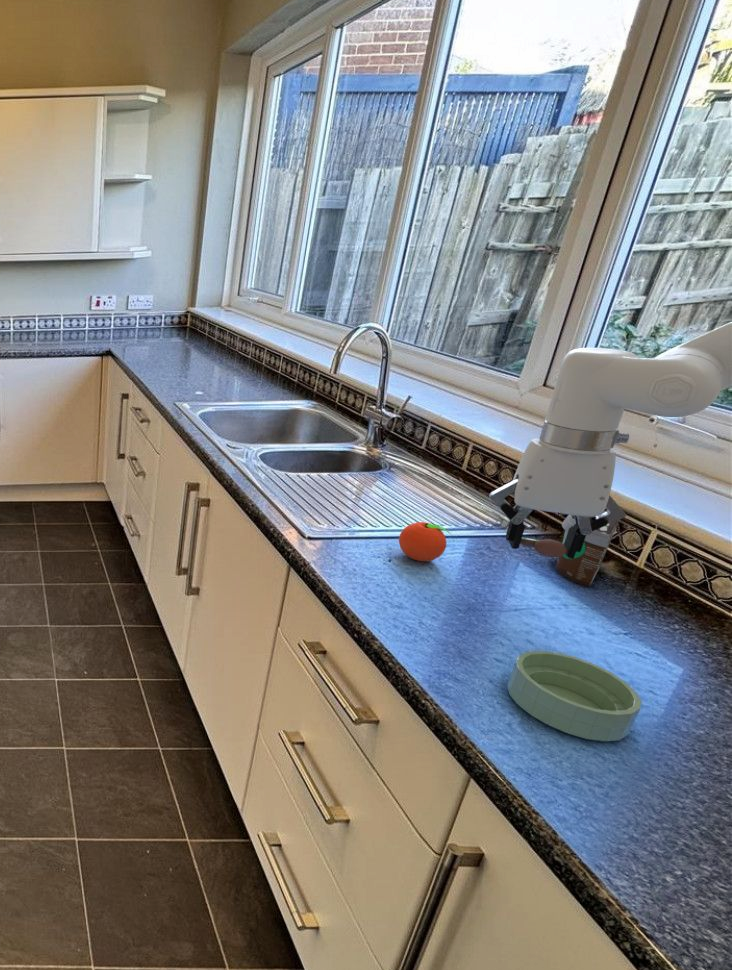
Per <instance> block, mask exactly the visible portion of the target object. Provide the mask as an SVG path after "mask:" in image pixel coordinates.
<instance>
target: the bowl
mask: <svg viewBox="0 0 732 970" xmlns="http://www.w3.org/2000/svg"><path fill="white" fill-rule="evenodd" d="M514 663H515V664H514V666H513V669H512V671H511V673H510V677H509V679H508V682H507V685H506V687H507V691H508V694H509V696H510V697H511V699H512V700H513V701H514V702H515V703H516V705H518V706H519V707H520V708H521V709H523V710H524V712H526V713H527V714H529V715H530V716H531V717H533V718H535V719H536V720H538V721H540V722H541V723H544V724H546V725H547V726H550V727H552V728H554V729H556V730H558V731H561V732H563V733H566V734H568V735H571V736H574V737H578V738H582V739H584V740H585V739H586V740H592V741H600V742H615V741H620V740H622V739H623V738H625V737H627V736H628V735H629V734H630V731H631V729H632V727H633V725H634V723H635V721H636V719H637V717H638V714H639V712H640V710H641V708H642V703H643V702H642V699H641V698H640V696H639V694H638V692H637V691H636V690H635V689H634V688H633V687H632V686H631V685H629V684H628V683H627V682H626V681H625V680H624V679H622V678H620V676H618V675H615V674H614V673H612V672H611V671H609V670H607V669H605V668H603V667H601V666H599V665H598V664H597V665H596V664H594V663H592V662H590V661H587V660H584V659H581V658H578V657H576V656H573V655H568V654H564V653H560V652H555V651H548V650H528V651H526V652H523V653H521V654H519V655H518V656H517V658H516V661H515V662H514Z"/></svg>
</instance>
